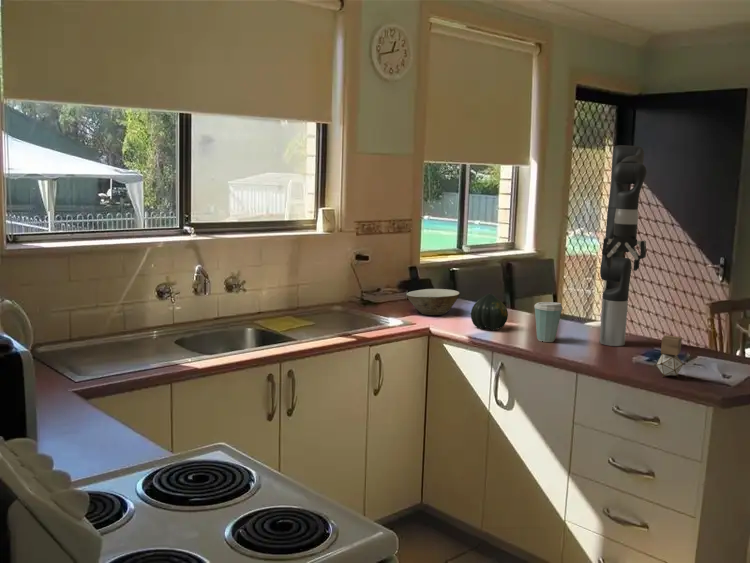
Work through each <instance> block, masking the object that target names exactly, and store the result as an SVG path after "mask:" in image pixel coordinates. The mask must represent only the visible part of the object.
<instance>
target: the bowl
mask: <svg viewBox="0 0 750 563" xmlns="http://www.w3.org/2000/svg"><path fill="white" fill-rule="evenodd" d="M405 295H406V297H407V299H408V300H409V302H410V303H411V304H412V305H413V307H414V308H415V309H416V310H417V311H418V312H419V313H421V314H422V313H423V314H422V315H427V316H440V315H441V316H442V315H445V314H446V313H447V312H449V310H450V309H452V307H453V306H454V305H455V304H456V301H457V300H458V298H459V296H460V291H457V290H454V289H447V288H446V289H444V288H425V289H424V288H423V289H418V290H412V291H409V292H407V293H406V294H405Z"/></svg>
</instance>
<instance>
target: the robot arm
mask: <svg viewBox="0 0 750 563" xmlns="http://www.w3.org/2000/svg"><path fill="white" fill-rule="evenodd" d="M644 160H645V152H644V149H643V147H642V146H638V145H624V144H623V145H621V144H619V145H616V146H615V147H614V148H613V152H612V161H611V179H610V180H611V181H610V190H609V197H608V198H609V199H608V206H607V213H606V214H607V215H606V226H605V235H604V236H605V237H604V238H603V242H602V243H603V244H602V250H601V254H602V257H601V262H600V267H599V268H600V269H599V272H600V273H599V275H600V279H601V280H602V281H606V282H607V281H608V282H616V283H619V285H618V286H616V287H614V288H609V289H605V290H604V291H603V292H602V302H601V316H600V329H599V343H600V344H601V345H605V346H611V347H622V346H625V344H626V331H627V320H628V304H629V292H630V282H631V274H632V261H631V258H628V257H619V256H613V255H615V254H616V252H619V253H620V252H623V253H630V255H632V257H633V258H634V260H633V271H635V272H636V271H638V270H639V269H640V261H641V260H643V259H645V258H646V257H647V241H646V240H638V239H637V238H638V237H637V236H638V224H639V222H638V221H639V200H640V194H641V191H642V187H643V184H644V182H645V179H646V177H647V173H648V172H647V167H646V166H645V165H644ZM625 185H633V187H632V188H631V189H629V190H628V189H626V187H625ZM637 245H638V247H639V248H640V252H639V253H640V254H639V253H638V251H637V249H636V246H637Z"/></svg>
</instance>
